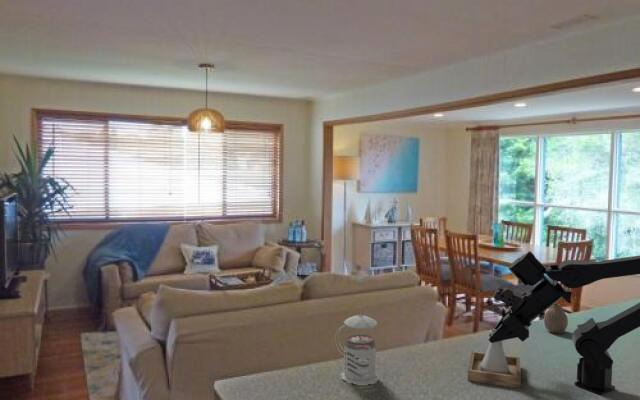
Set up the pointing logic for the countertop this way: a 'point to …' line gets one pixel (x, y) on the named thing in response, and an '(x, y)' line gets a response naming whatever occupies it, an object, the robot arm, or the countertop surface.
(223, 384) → the countertop surface
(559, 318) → the vase
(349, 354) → the french press
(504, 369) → the flask
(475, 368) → the wooden tray
